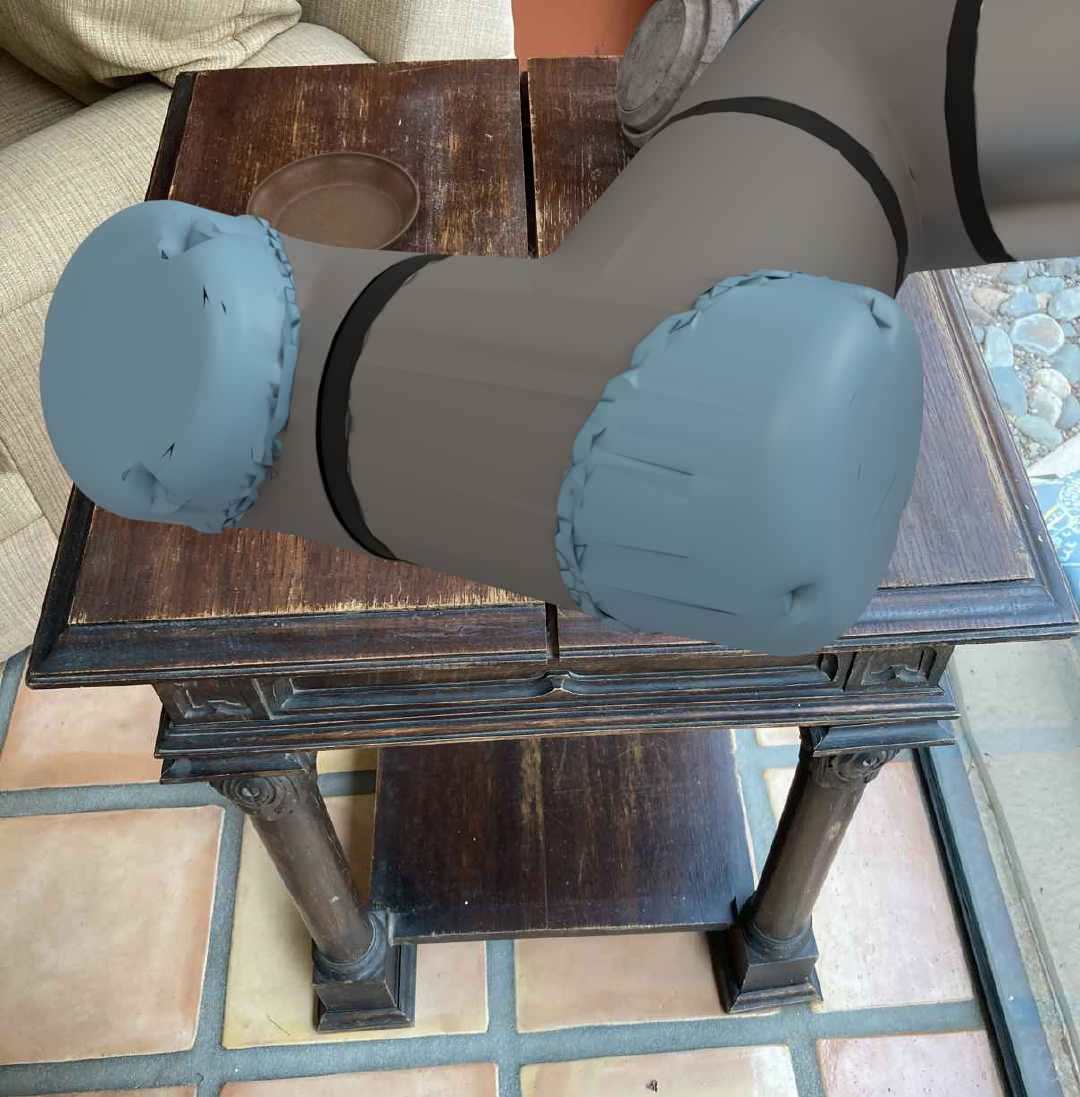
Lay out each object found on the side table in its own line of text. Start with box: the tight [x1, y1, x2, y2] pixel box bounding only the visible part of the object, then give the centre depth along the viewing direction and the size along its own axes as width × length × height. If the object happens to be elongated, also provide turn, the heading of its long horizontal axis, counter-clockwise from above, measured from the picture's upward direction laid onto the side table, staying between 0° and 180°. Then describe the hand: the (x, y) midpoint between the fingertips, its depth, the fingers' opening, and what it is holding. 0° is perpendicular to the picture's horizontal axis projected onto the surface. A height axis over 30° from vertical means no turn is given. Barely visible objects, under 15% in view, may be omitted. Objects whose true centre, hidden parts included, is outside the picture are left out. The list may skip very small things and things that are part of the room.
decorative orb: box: [615, 0, 756, 150], centre depth 91 cm, size 15×14×15 cm
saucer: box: [245, 151, 421, 251], centre depth 90 cm, size 15×15×3 cm
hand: (745, 476), depth 56 cm, fingers closed
